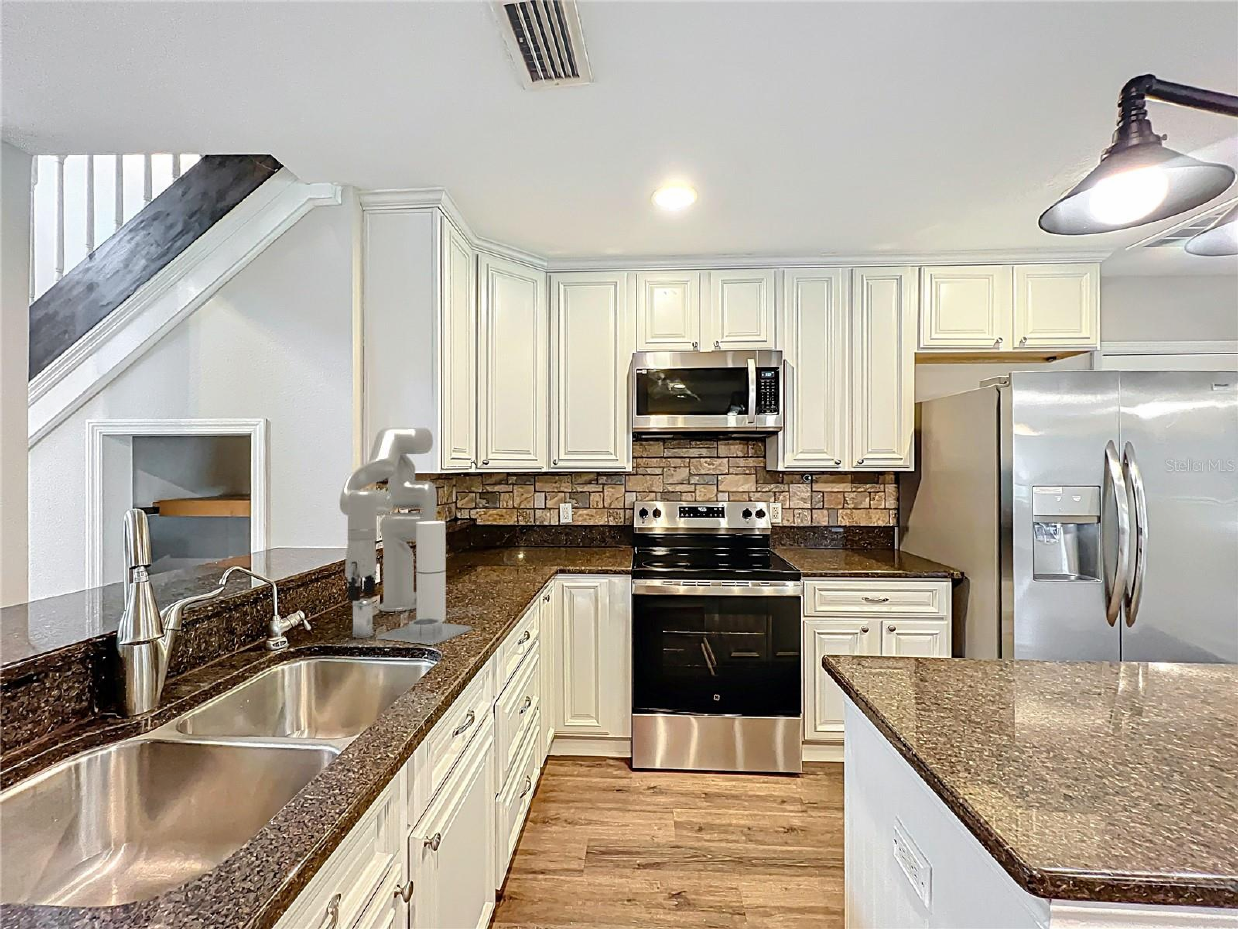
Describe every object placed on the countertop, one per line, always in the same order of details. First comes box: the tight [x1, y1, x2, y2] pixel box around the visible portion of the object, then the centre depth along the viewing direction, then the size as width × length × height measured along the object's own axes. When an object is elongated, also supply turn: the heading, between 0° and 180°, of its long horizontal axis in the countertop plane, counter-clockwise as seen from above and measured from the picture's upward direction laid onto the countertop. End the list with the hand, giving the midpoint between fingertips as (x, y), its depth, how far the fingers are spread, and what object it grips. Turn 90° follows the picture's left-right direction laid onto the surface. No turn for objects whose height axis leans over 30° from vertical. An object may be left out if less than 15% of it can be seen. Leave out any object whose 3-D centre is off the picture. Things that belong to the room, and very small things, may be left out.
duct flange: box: [376, 618, 472, 646], centre depth 180 cm, size 18×18×4 cm
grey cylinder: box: [352, 598, 374, 638], centre depth 178 cm, size 5×5×10 cm
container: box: [415, 520, 447, 623], centre depth 197 cm, size 9×9×30 cm
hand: (361, 597), depth 178 cm, fingers open, 9 cm apart
